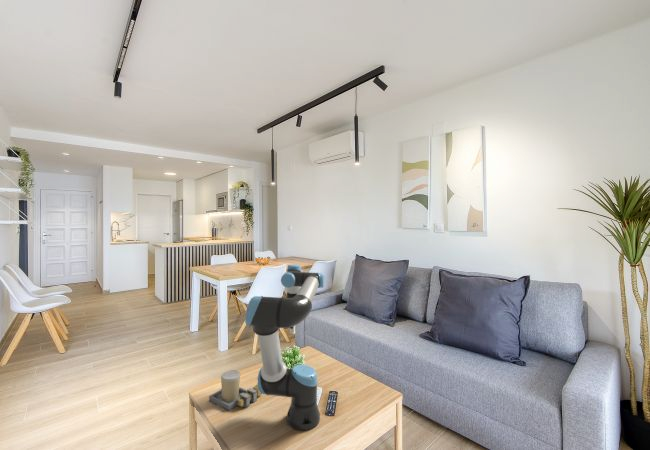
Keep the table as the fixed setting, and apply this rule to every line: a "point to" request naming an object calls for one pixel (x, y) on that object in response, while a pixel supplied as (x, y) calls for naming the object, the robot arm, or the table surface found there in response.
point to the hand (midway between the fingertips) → (292, 333)
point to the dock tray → (217, 400)
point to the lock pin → (243, 400)
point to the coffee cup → (230, 385)
